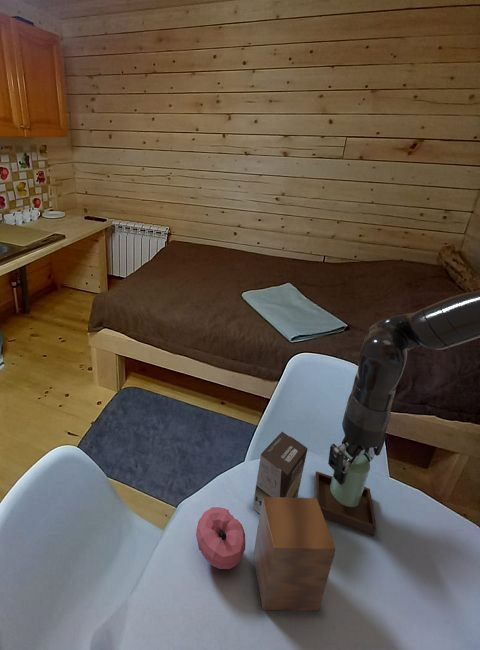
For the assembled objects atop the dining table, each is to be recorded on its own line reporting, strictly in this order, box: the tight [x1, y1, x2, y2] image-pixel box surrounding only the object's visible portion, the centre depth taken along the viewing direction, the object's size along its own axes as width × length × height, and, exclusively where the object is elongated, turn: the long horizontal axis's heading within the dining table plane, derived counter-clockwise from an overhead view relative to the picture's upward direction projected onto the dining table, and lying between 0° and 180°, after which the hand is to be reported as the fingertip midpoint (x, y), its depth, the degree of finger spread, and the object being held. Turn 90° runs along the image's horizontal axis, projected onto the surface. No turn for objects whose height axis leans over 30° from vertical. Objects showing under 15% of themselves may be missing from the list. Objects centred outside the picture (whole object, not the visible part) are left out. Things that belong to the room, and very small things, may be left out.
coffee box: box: [252, 431, 308, 515], centre depth 75 cm, size 9×6×16 cm
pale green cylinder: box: [330, 451, 371, 507], centre depth 75 cm, size 6×6×10 cm
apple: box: [195, 506, 246, 570], centre depth 66 cm, size 10×9×10 cm
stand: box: [252, 497, 337, 612], centre depth 61 cm, size 10×8×17 cm
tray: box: [313, 470, 377, 537], centre depth 77 cm, size 12×9×3 cm
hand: (350, 474), depth 74 cm, fingers closed on pale green cylinder, 6 cm apart
